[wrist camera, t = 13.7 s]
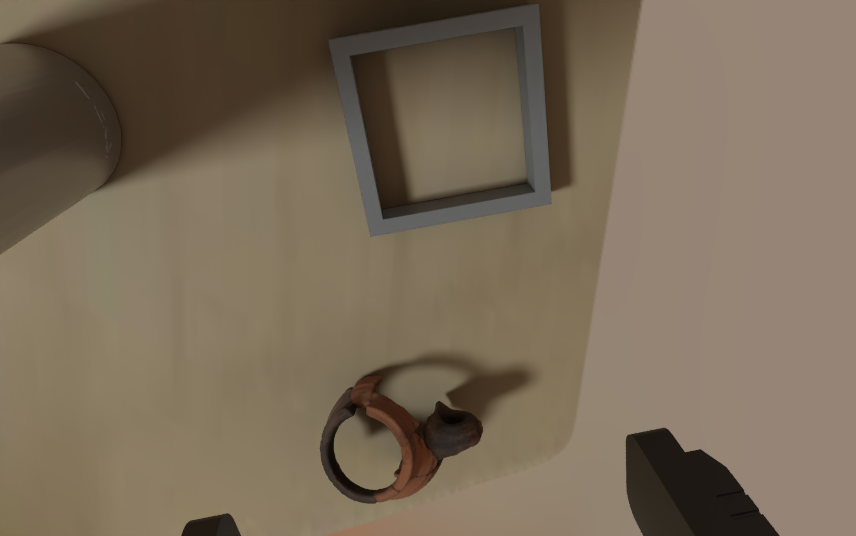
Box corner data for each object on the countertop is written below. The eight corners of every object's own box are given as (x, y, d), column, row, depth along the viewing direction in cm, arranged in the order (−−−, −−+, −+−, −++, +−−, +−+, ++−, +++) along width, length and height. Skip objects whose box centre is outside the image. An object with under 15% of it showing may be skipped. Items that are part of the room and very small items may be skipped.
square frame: (370, 225, 38) (370, 236, 37) (330, 38, 33) (327, 40, 31) (543, 194, 39) (551, 204, 37) (529, 3, 33) (539, 3, 32)
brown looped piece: (378, 478, 49) (332, 529, 41) (343, 375, 49) (291, 406, 41) (508, 451, 45) (485, 502, 37) (470, 338, 45) (439, 365, 37)
